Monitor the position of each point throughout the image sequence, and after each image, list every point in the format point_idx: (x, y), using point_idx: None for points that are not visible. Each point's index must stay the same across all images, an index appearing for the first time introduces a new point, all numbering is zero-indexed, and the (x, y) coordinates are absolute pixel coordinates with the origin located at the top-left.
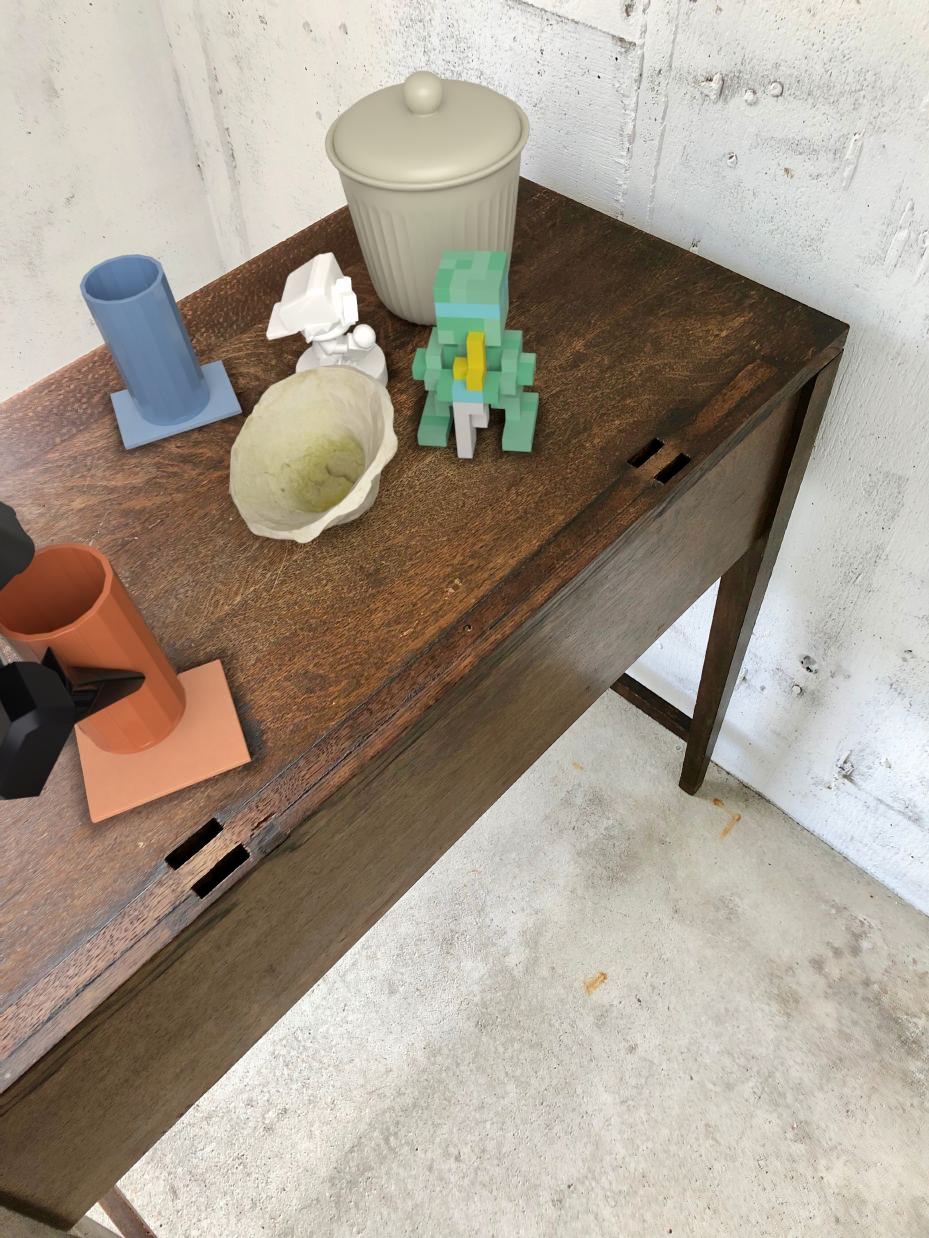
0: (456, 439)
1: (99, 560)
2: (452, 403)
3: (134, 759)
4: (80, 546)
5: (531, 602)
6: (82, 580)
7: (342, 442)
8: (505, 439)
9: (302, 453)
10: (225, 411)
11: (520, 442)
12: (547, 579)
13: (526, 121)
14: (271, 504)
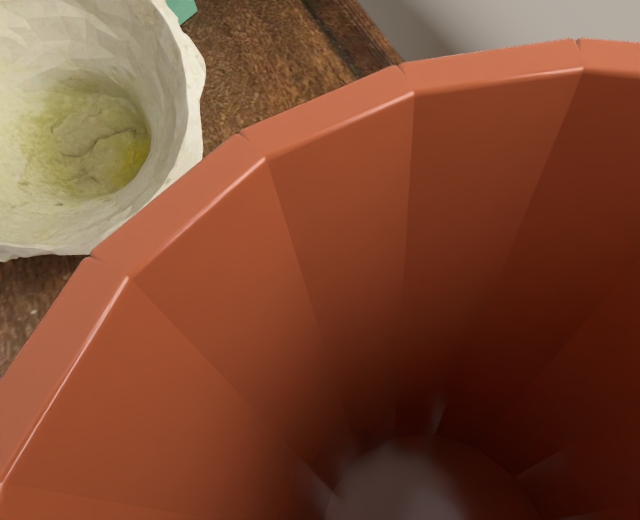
0: None
1: (392, 116)
2: None
3: None
4: (186, 196)
5: (389, 50)
6: (228, 452)
7: (51, 108)
8: (172, 10)
9: (23, 158)
10: None
11: (185, 4)
12: (367, 34)
13: None
14: (78, 216)
